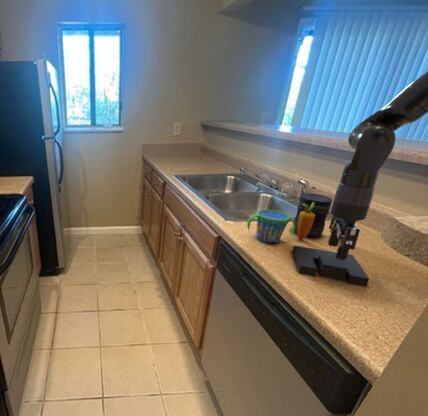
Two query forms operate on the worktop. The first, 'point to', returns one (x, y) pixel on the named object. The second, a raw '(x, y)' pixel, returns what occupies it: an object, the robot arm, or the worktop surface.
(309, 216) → the carrot
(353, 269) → the base pad
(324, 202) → the dark blue oil drum
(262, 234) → the snack cup
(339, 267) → the small block
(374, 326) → the worktop surface
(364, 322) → the worktop surface
